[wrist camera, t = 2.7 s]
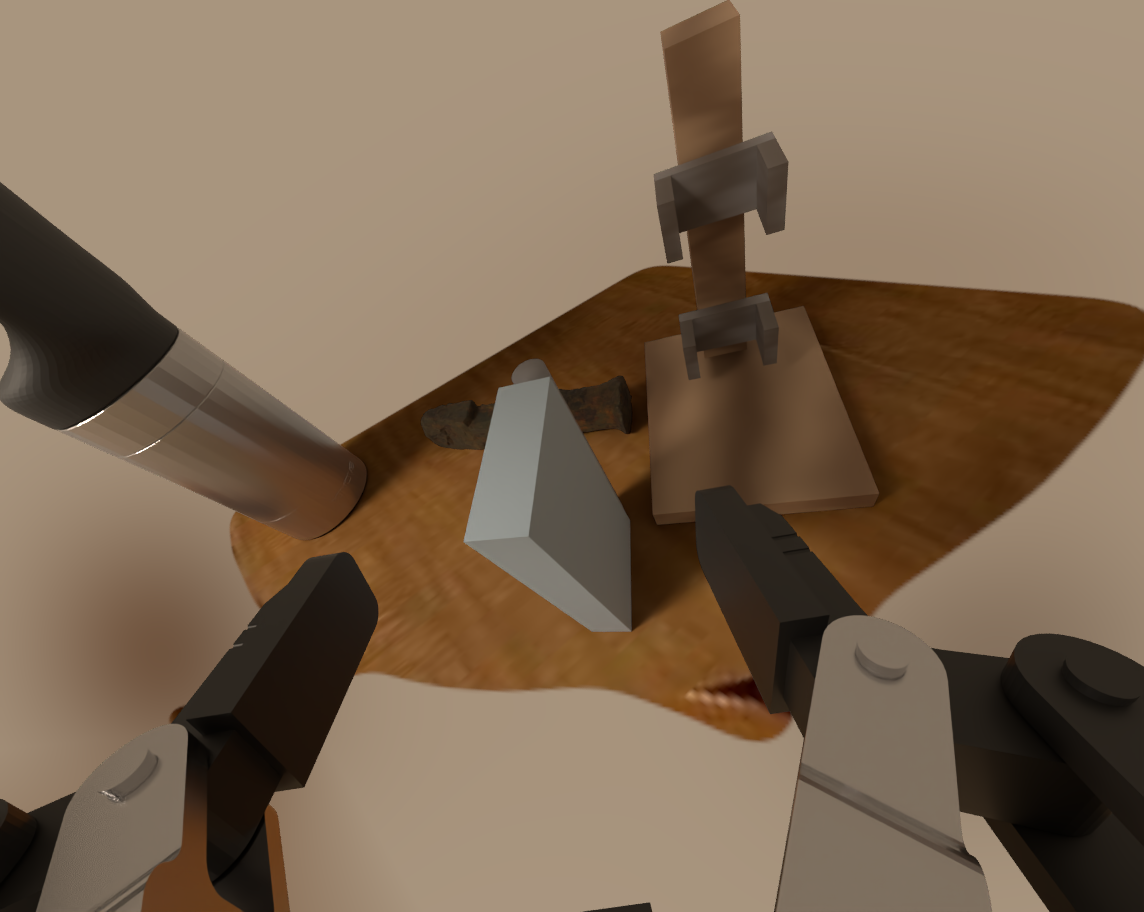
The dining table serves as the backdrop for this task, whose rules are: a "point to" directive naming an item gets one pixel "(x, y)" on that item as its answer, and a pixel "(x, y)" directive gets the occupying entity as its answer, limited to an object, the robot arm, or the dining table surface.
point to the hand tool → (588, 404)
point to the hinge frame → (736, 314)
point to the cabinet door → (551, 506)
